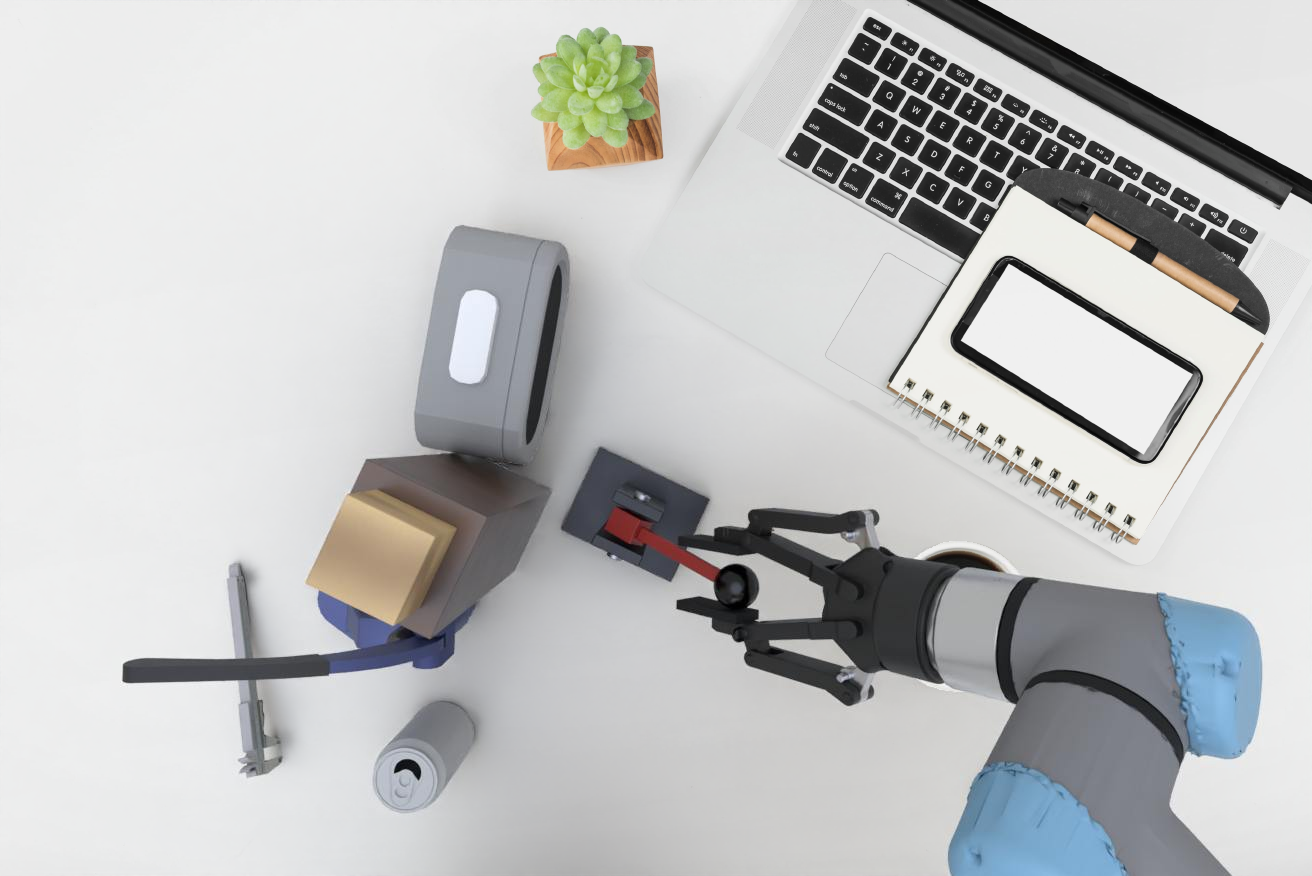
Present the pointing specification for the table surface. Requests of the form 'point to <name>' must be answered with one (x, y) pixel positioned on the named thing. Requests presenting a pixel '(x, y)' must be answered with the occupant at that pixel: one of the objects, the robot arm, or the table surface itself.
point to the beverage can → (422, 757)
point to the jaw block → (381, 555)
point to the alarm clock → (492, 345)
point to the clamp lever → (688, 560)
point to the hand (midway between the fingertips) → (689, 571)
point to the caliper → (248, 685)
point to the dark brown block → (461, 524)
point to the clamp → (369, 633)
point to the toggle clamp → (633, 510)
